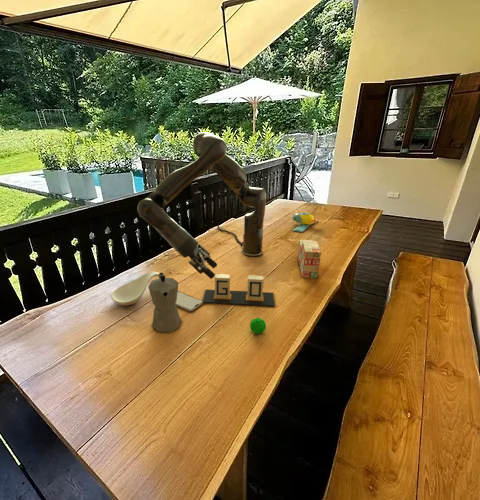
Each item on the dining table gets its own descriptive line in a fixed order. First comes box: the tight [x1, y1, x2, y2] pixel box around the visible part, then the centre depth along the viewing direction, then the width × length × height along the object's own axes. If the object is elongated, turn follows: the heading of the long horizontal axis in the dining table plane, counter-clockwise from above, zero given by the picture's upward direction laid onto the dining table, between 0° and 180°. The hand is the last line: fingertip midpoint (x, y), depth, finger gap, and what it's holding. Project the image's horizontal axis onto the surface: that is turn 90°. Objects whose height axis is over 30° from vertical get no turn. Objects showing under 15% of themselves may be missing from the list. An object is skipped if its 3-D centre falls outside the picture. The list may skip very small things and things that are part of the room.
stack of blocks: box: [297, 239, 322, 279], centre depth 134 cm, size 21×6×12 cm, turn 170°
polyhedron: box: [249, 317, 267, 335], centre depth 94 cm, size 5×5×5 cm
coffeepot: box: [147, 271, 181, 333], centre depth 97 cm, size 15×9×18 cm, turn 13°
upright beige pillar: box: [246, 274, 264, 300], centre depth 110 cm, size 3×6×8 cm, turn 83°
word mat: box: [202, 289, 276, 308], centre depth 113 cm, size 26×9×1 cm, turn 83°
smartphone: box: [175, 290, 204, 312], centre depth 112 cm, size 7×1×15 cm
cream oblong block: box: [214, 273, 231, 298], centre depth 112 cm, size 3×6×8 cm, turn 83°
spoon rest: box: [110, 271, 160, 306], centre depth 116 cm, size 24×12×7 cm, turn 140°
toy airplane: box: [292, 212, 319, 233], centre depth 190 cm, size 28×9×15 cm
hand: (214, 271), depth 110 cm, fingers open, 8 cm apart
